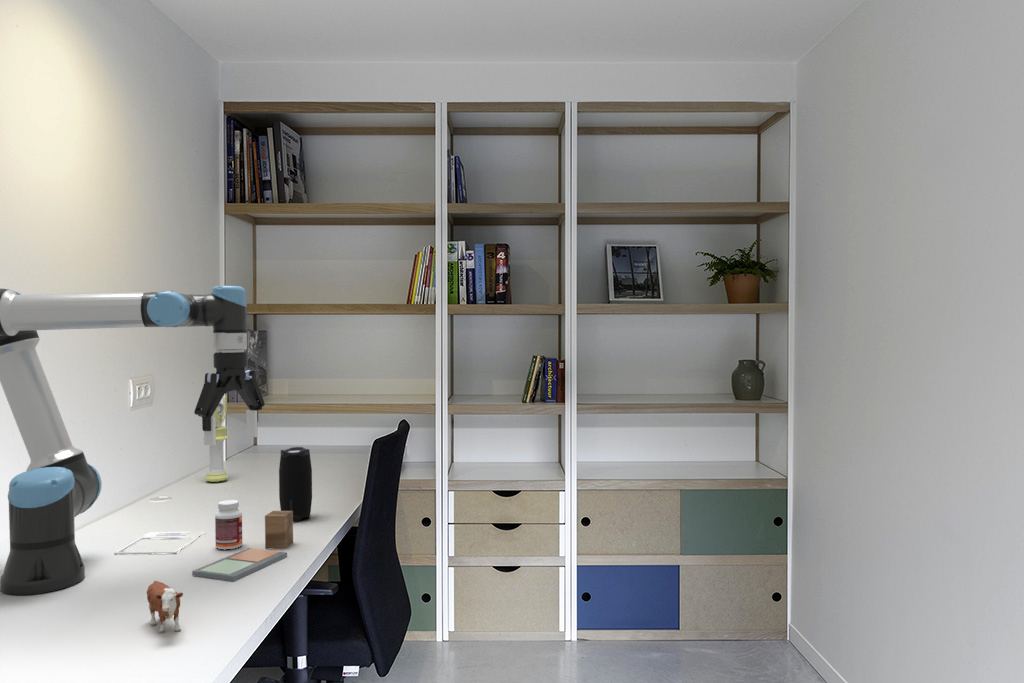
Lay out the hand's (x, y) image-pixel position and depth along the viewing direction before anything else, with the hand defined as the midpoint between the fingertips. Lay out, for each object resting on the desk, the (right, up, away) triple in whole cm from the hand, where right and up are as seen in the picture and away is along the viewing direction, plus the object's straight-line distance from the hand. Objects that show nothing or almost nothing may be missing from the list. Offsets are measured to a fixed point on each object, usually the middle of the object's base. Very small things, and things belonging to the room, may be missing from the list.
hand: (231, 440), depth 179 cm
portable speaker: (+6, -26, +32) cm, 42 cm away
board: (+6, -27, -9) cm, 29 cm away
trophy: (-37, -25, +84) cm, 95 cm away
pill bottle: (-3, -27, +6) cm, 28 cm away
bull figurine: (+4, -28, -44) cm, 52 cm away
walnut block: (+9, -27, +6) cm, 29 cm away
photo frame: (-21, -27, +9) cm, 35 cm away
